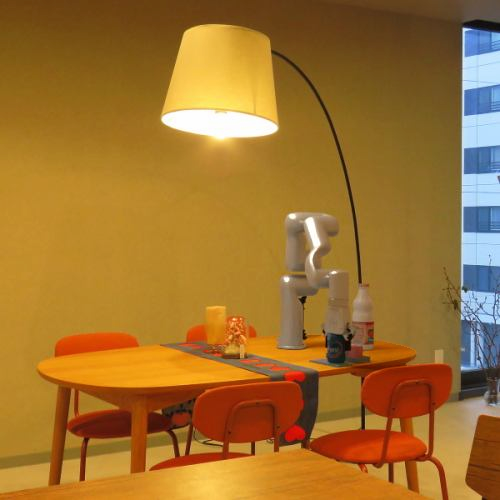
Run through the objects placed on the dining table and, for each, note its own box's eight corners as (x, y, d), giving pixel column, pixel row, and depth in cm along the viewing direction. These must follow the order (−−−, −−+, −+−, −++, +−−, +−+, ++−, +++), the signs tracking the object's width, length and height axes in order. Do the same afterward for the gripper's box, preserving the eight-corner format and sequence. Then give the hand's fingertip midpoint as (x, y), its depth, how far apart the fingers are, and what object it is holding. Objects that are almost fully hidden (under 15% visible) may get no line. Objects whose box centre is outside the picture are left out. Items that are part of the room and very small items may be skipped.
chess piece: (304, 340, 356) (305, 296, 356) (287, 339, 358) (288, 296, 357) (307, 337, 364) (307, 295, 364) (290, 337, 366) (291, 295, 365)
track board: (309, 361, 294) (309, 360, 294) (323, 360, 299) (323, 358, 299) (337, 367, 283) (337, 365, 283) (352, 365, 287) (352, 363, 287)
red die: (347, 355, 297) (348, 344, 297) (355, 354, 300) (355, 343, 300) (355, 357, 294) (355, 345, 294) (362, 356, 297) (362, 344, 297)
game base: (325, 358, 304) (325, 352, 304) (340, 356, 309) (340, 351, 309) (355, 363, 292) (355, 358, 292) (370, 361, 297) (370, 356, 297)
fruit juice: (351, 347, 336) (352, 282, 335) (373, 347, 335) (374, 283, 334) (351, 350, 326) (352, 284, 326) (374, 350, 325) (375, 284, 325)
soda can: (325, 364, 286) (326, 331, 286) (328, 361, 293) (329, 329, 292) (344, 364, 284) (345, 332, 284) (346, 362, 291) (347, 330, 291)
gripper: (315, 302, 292) (314, 347, 292) (348, 305, 278) (347, 353, 279) (329, 301, 296) (328, 345, 297) (362, 304, 283) (362, 351, 283)
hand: (337, 349), depth 288 cm, fingers open, 9 cm apart
